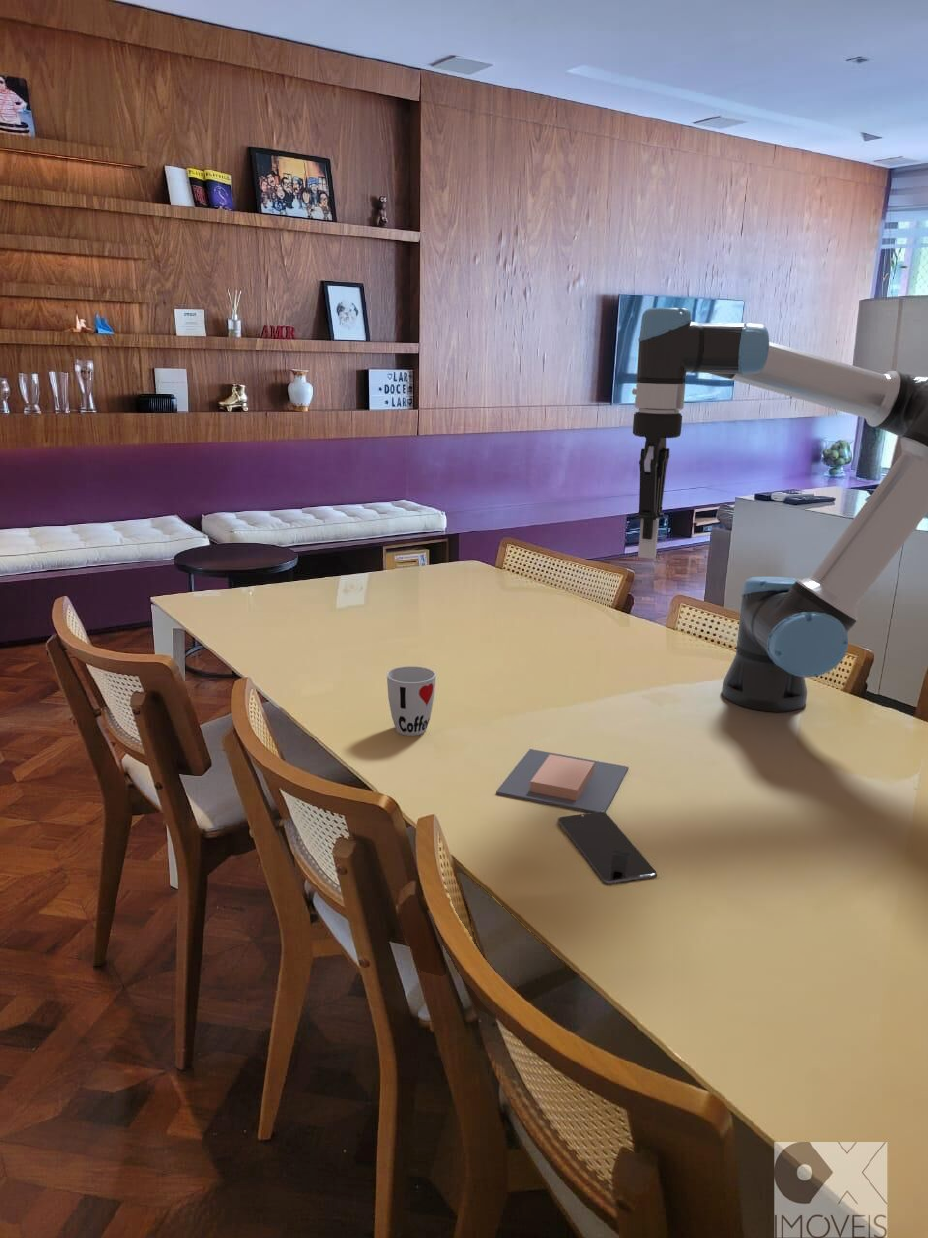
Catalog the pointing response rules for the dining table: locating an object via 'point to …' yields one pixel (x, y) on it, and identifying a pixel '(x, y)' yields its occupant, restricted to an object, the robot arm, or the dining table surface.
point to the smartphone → (606, 848)
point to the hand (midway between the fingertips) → (646, 557)
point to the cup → (411, 698)
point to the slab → (562, 777)
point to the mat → (590, 800)
